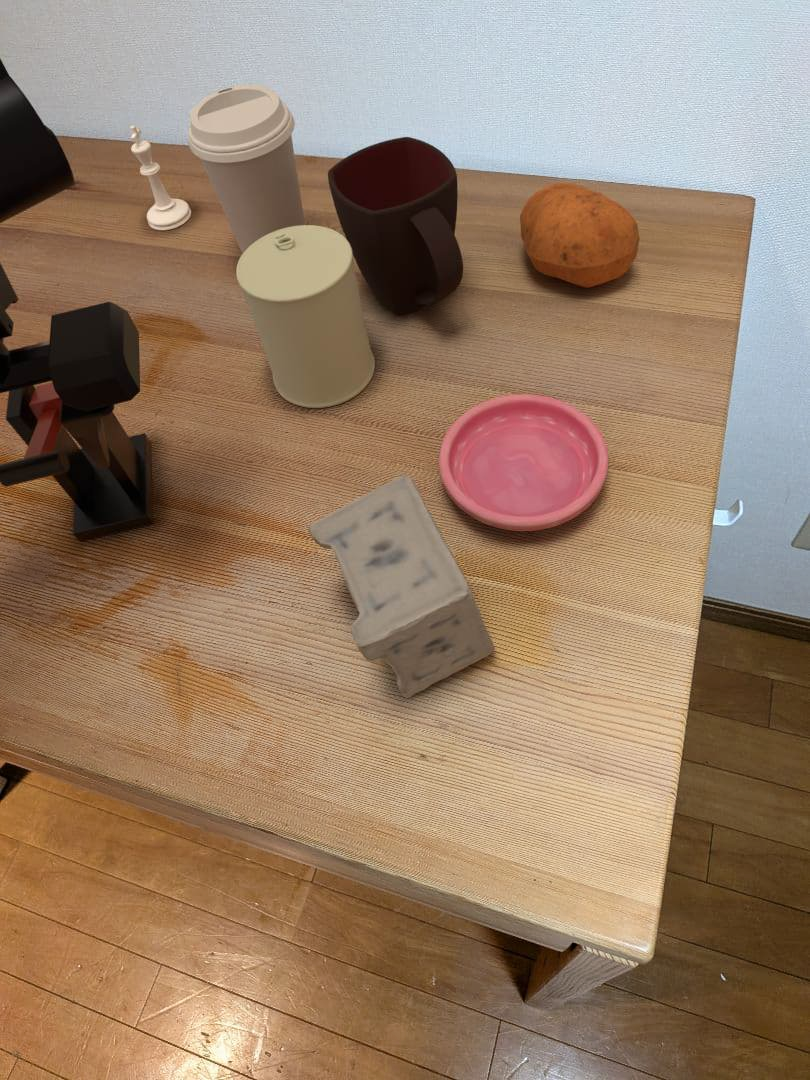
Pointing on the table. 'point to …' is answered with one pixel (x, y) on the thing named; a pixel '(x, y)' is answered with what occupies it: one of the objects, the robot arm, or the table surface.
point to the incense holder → (404, 586)
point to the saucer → (523, 462)
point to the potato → (578, 234)
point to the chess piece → (158, 190)
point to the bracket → (97, 473)
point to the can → (308, 314)
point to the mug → (400, 221)
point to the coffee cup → (249, 159)
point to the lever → (39, 442)
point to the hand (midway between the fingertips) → (46, 478)
